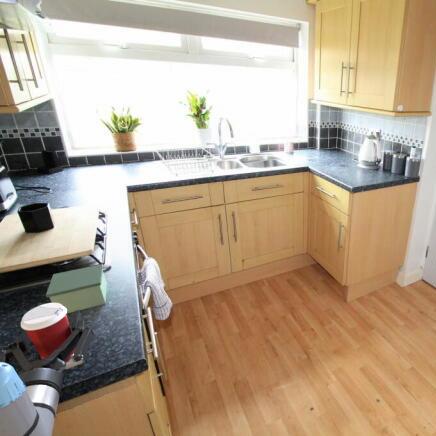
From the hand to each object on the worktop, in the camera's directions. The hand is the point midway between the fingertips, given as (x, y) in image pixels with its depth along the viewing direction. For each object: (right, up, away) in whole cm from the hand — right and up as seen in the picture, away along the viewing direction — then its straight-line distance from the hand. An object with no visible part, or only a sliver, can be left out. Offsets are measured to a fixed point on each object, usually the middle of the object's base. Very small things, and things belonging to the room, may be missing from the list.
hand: (55, 321), depth 74 cm
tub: (-8, 0, +19) cm, 21 cm away
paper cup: (+2, -9, 0) cm, 9 cm away
